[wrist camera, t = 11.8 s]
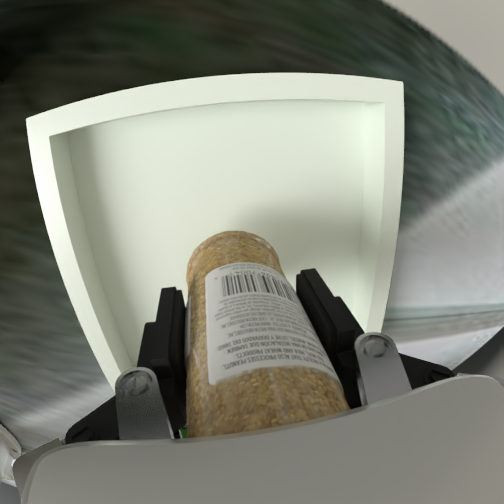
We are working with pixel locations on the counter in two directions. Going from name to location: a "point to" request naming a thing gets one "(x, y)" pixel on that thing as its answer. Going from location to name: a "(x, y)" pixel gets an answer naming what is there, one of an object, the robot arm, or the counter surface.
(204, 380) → the sprinkles bottle
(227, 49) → the counter surface
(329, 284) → the tray
